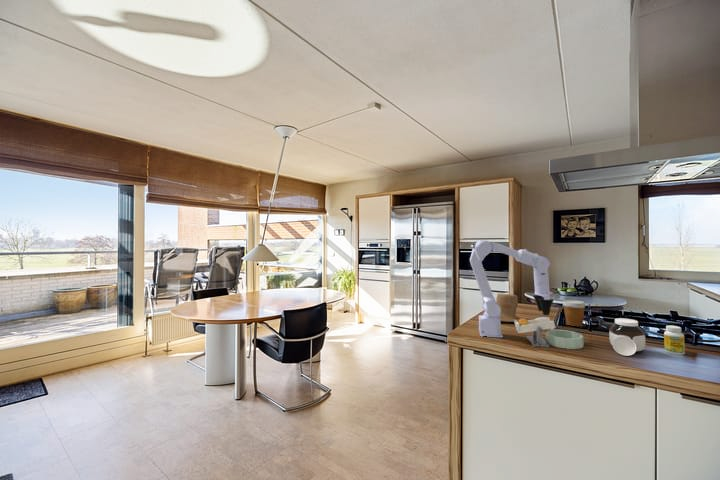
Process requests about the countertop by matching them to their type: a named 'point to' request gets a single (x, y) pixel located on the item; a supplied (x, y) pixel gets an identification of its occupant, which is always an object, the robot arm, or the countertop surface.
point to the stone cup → (507, 307)
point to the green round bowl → (564, 339)
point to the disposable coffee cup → (574, 312)
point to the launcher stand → (538, 339)
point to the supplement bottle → (674, 340)
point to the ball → (522, 322)
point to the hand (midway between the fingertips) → (543, 312)
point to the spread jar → (627, 337)
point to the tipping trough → (535, 325)
